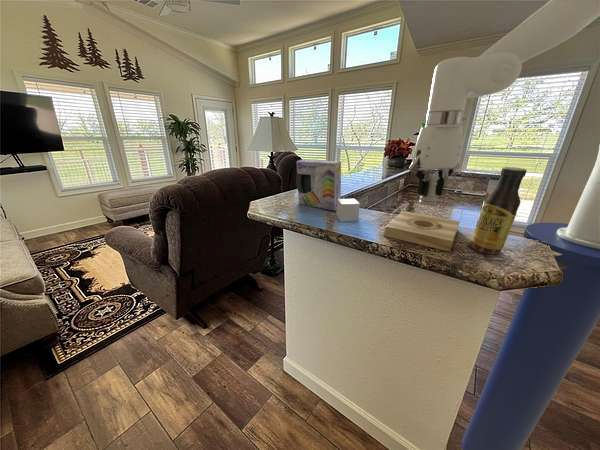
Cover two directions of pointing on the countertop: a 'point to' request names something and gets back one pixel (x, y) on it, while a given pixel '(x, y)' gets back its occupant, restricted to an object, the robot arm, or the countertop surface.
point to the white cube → (348, 209)
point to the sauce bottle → (498, 212)
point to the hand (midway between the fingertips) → (429, 194)
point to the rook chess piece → (430, 191)
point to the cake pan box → (319, 183)
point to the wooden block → (423, 230)
